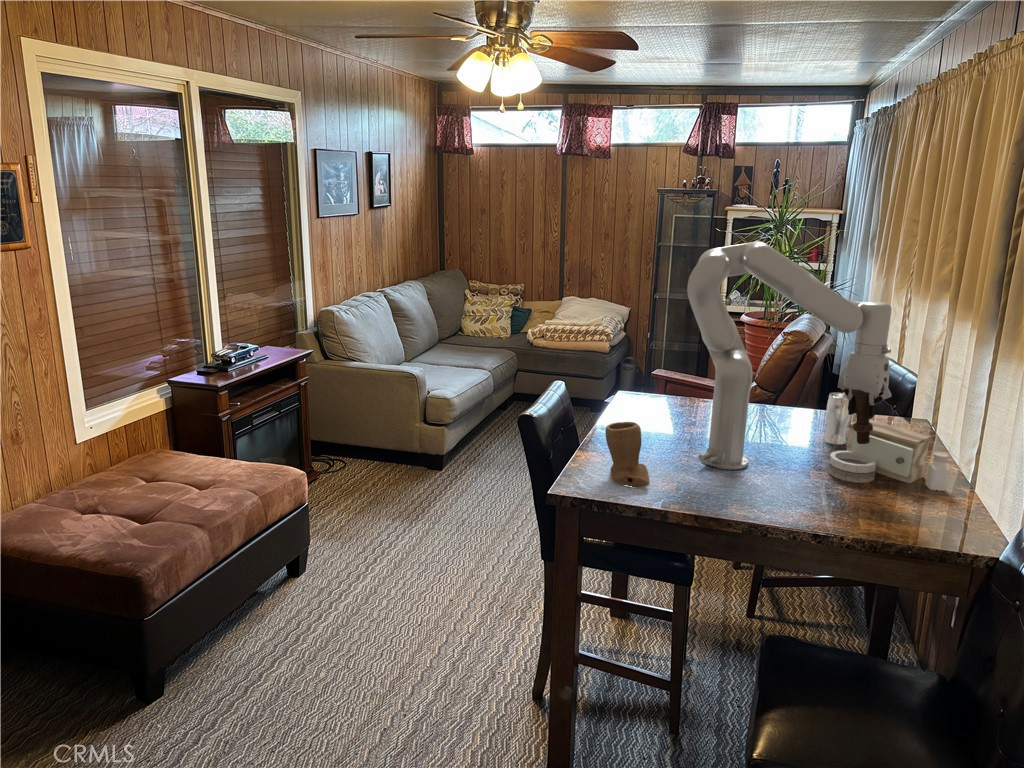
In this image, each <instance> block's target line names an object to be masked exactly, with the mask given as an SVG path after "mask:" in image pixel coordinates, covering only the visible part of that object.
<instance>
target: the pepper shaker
mask: <svg viewBox="0 0 1024 768" xmlns="http://www.w3.org/2000/svg"><path fill="white" fill-rule="evenodd" d="M932 459H933V461H932V463H929V464H928V467H927V472H926V473H927V474H926V478H925V484H924V485H925V486H926V487H927V488H928V490H930V491H936V490H937V491H938V492H945V491H946V490H947V485H948V480H949V475H950V469H949V467H948V466H947V464H948V460H949V455H948V454H947V453H944V452H934V454H933V458H932ZM937 491H936V492H937Z"/></svg>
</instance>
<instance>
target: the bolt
mask: <svg viewBox="0 0 1024 768" xmlns="http://www.w3.org/2000/svg"><path fill="white" fill-rule="evenodd" d="M852 395H853V396H855V401H856V413H855V417H856V420H855V422H856V423H854V424H853V429H854V431H856V432H857V443H858V444H868V443H869V442H870V439H869V437H870V434H869V432H870V431H872V430H873V425H872V423H870V422H869V420H870V419H866V418H865V415H866V408H867V405H868V404H869V393H866V392H864V391H861V390H853V389H852Z"/></svg>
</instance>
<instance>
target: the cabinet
mask: <svg viewBox="0 0 1024 768" xmlns="http://www.w3.org/2000/svg"><path fill="white" fill-rule="evenodd" d="M869 422H870V423H872V425H873V430H872V431H870V432H869V434H870V435H871V436H874V437H877V438H880V439H883V440H887V441H890V442H893V443H896V444H899V445H902V446H905V447H908V448H911V449H914V450H913V456H912V461H911V467H910V473H909V476H908V477H905V476H902V475H899V474H897V473H894V472H891V471H888V470H886V469H883V468H880V467H877V466H876V468H875V471H873V472H869V473H855V472H849V471H844V470H841V469H839V468H836V467H834V466H832V465H831V464H830V463H829V462H828V471H827V472H828V474H829V475H830V474H831V476H832V477H833V476H834V477H833V478H835V479H838V480H842V481H843V482H851V483H858V484H862V483H863V484H864V483H870V482H872V481H875V477H876V474H878V473H879V474H878V475H881V474H882V475H881V476H884V475H885V477H888V478H891V479H893V480H894V479H895V480H897V481H901V482H903V483H907V484H911V483H913V482H915V481H917V480H919V479H921V478H924V475H925V474H924V473H925V469H926V468H925V467H926V463H927V457H928V453H929V445H930V440H932V439H933V435H929V434H926V433H922V432H919V431H914V430H911V429H907V428H902V427H899V426H894V425H890V424H887V423H884V422H879V421H875V420H872V419H869ZM854 423H856V421H853V422H851V423H848V427H849V433H848V439H847V445H846V451H851V450H852V443H853V437H854V429H853V424H854ZM839 460H842V461H844V462H848V463H853V464H866V463H863V462H861V461H857V460H851V459H839ZM875 472H876V473H875Z"/></svg>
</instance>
